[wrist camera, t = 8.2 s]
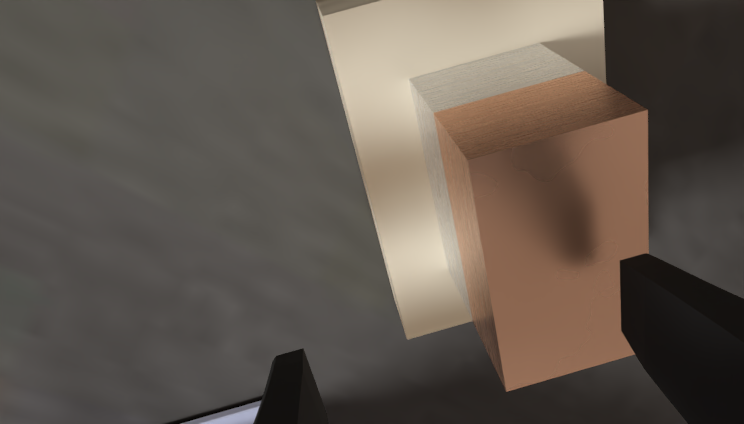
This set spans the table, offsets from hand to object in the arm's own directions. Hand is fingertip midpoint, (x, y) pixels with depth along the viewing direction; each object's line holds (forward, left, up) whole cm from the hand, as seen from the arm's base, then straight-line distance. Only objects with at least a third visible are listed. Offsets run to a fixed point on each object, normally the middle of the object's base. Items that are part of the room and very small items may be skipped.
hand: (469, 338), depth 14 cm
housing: (0, -3, -7) cm, 8 cm away
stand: (0, -3, -10) cm, 10 cm away
